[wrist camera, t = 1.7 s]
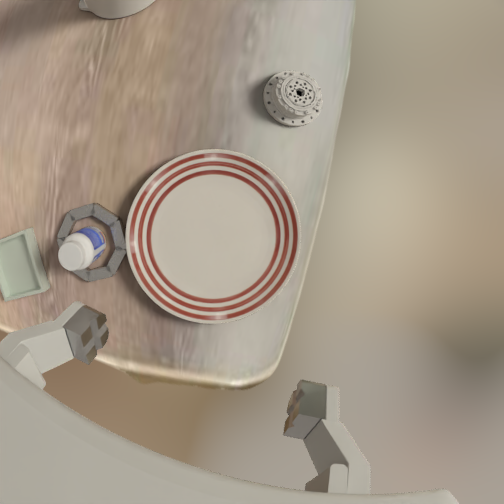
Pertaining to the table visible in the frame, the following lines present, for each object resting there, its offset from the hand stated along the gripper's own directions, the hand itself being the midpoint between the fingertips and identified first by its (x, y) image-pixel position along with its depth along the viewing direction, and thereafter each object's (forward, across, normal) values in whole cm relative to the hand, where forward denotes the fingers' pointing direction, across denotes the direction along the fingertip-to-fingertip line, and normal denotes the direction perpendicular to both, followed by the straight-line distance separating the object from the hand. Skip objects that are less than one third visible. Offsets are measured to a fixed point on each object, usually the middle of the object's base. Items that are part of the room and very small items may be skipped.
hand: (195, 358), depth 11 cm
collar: (+26, +27, +15) cm, 41 cm away
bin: (+19, +42, +21) cm, 50 cm away
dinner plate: (+34, +8, +13) cm, 37 cm away
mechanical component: (+44, +2, -11) cm, 45 cm away
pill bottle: (+26, +27, +16) cm, 41 cm away
